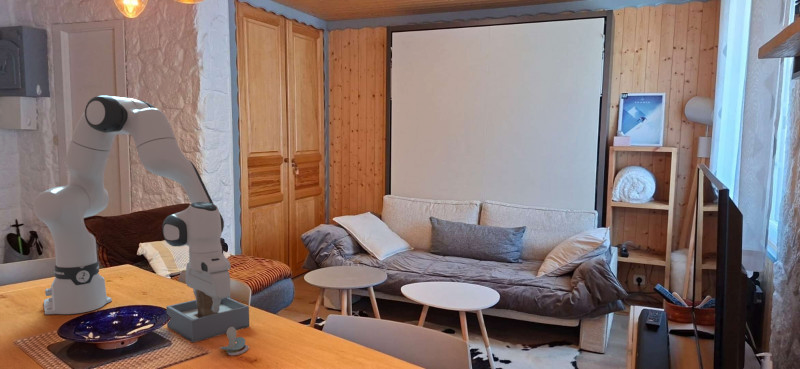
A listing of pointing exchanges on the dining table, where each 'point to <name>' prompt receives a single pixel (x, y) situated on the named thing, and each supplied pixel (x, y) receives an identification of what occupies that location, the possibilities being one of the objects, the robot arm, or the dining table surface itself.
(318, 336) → the dining table surface
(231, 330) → the pacifier
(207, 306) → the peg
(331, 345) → the dining table surface
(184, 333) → the bin
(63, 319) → the dining table surface
